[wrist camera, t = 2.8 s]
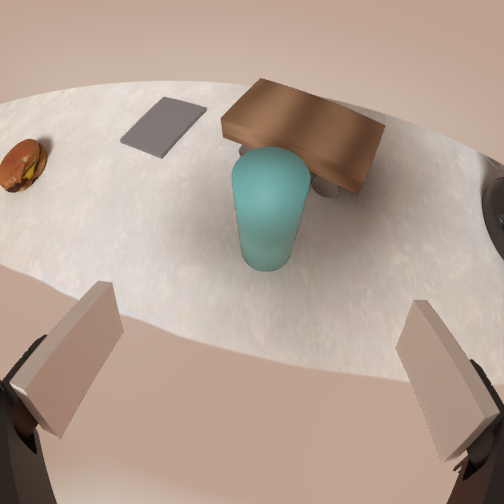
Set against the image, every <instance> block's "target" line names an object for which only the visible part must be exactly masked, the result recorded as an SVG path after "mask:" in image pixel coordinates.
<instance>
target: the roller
mask: <svg viewBox="0 0 504 504" xmlns="http://www.w3.org/2000/svg"><path fill="white" fill-rule="evenodd" d="M232 185H233V193H234V200H235V208H236V215H237V223H238V230H239V238H240V245H241V252H242V256H243V258H244V260H245V261H246V262H247V264H248V265H250V266H251V267H252V268H254V269H256V270H259V271H274V270H276V269H279V268H280V267H282V266H283V265H284V264H285V263H286V262H287V260H288V259H289V257H290V254H291V250H292V247H293V243H294V240H295V236H296V233H297V229H298V226H299V222H300V218H301V215H302V211H303V208H304V204H305V200H306V197H307V193H308V189H309V185H310V173H309V170H308V167H307V166H306V164H305V163H304V161H303V160H302V159H301V158H300V157H299V156H297V155H296V154H294V153H293V152H291V151H289V150H286V149H283V148H279V147H260V148H256V149H253V150H251V151H249V152H247V153H245V154H244V155H243V156H241V157H240V158H239V159H238V161H237V162H236V164H235V165H234V167H233V171H232Z"/></svg>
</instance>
